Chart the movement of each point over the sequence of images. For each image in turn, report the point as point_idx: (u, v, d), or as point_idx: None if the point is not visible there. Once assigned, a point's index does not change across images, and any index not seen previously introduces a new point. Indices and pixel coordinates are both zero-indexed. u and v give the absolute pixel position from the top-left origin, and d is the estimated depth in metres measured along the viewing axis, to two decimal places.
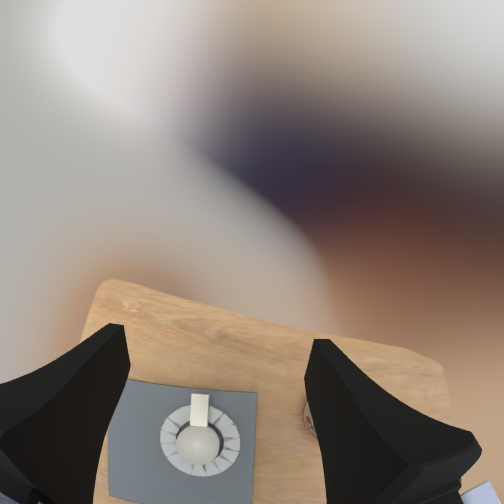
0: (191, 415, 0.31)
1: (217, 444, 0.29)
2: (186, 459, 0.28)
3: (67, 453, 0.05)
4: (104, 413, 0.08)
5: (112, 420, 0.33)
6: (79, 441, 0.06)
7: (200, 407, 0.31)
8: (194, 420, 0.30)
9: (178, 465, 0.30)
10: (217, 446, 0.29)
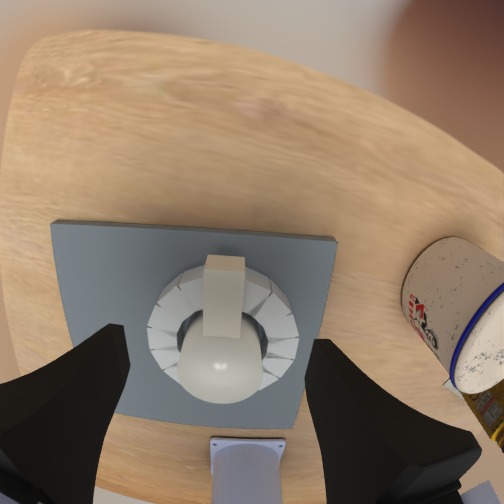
0: (205, 317, 0.15)
1: (260, 372, 0.16)
2: (199, 396, 0.17)
3: (67, 453, 0.05)
4: (104, 413, 0.08)
5: (68, 303, 0.20)
6: (79, 441, 0.06)
7: (225, 300, 0.15)
8: (212, 326, 0.16)
9: None
10: (259, 376, 0.16)
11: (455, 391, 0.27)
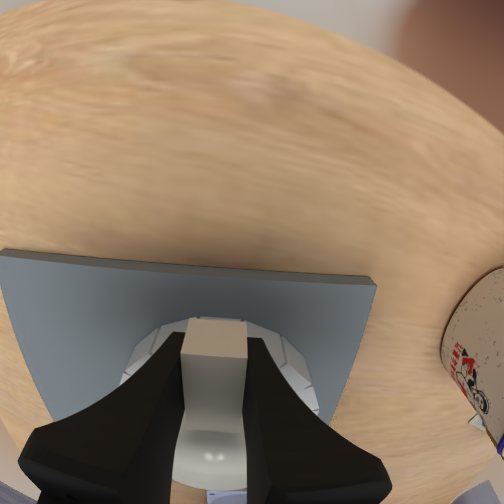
0: (188, 410, 0.09)
1: None
2: (188, 483, 0.11)
3: (157, 476, 0.05)
4: (176, 426, 0.08)
5: (26, 350, 0.14)
6: (163, 460, 0.06)
7: (217, 393, 0.09)
8: (199, 420, 0.10)
9: None
10: None
11: (478, 426, 0.21)
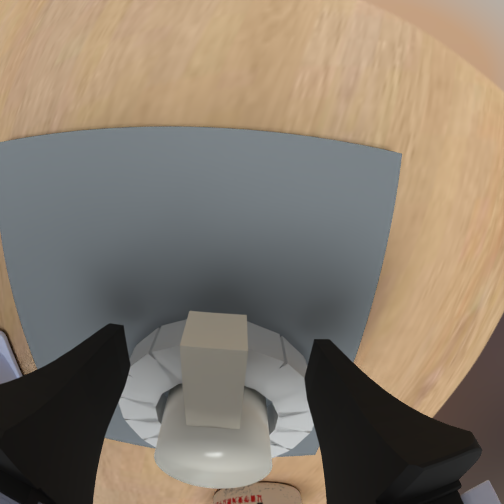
0: (187, 405, 0.09)
1: (268, 464, 0.10)
2: (187, 481, 0.11)
3: (67, 453, 0.05)
4: (104, 413, 0.08)
5: (247, 145, 0.11)
6: (79, 441, 0.06)
7: (217, 387, 0.09)
8: (199, 416, 0.10)
9: (134, 377, 0.12)
10: (267, 466, 0.10)
11: None
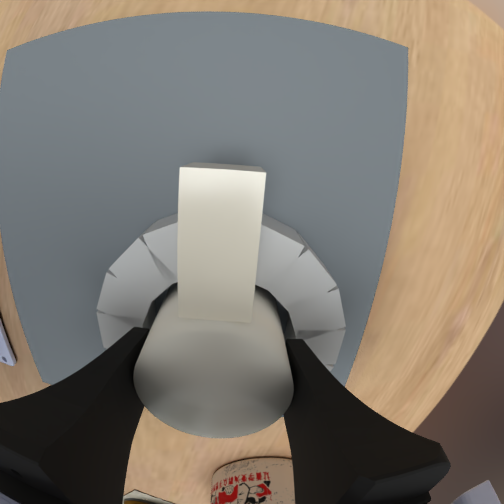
0: (182, 276, 0.08)
1: (288, 388, 0.08)
2: (178, 425, 0.09)
3: (101, 464, 0.05)
4: (132, 419, 0.08)
5: (259, 26, 0.09)
6: (111, 450, 0.06)
7: (223, 238, 0.07)
8: (196, 297, 0.08)
9: (118, 277, 0.10)
10: (287, 393, 0.09)
11: (126, 496, 0.23)
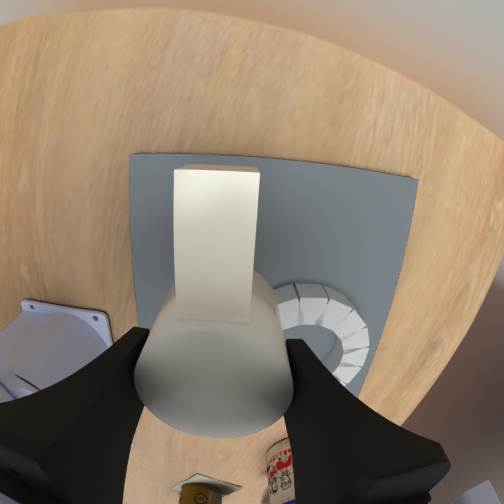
0: (179, 277, 0.08)
1: (288, 387, 0.08)
2: (179, 426, 0.09)
3: (101, 464, 0.05)
4: (131, 419, 0.08)
5: (332, 175, 0.18)
6: (111, 450, 0.06)
7: (219, 239, 0.07)
8: (194, 298, 0.08)
9: None
10: (287, 393, 0.09)
11: (186, 481, 0.32)
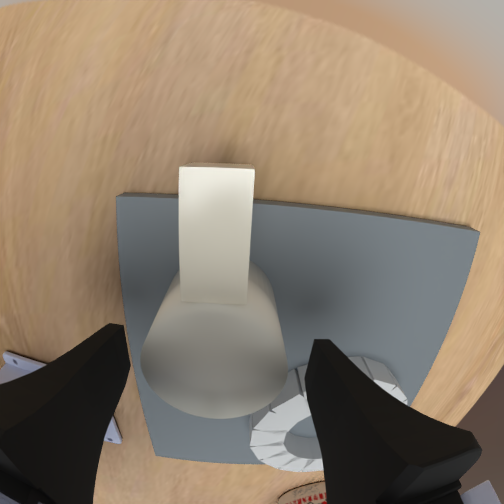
0: (183, 263, 0.09)
1: (283, 366, 0.09)
2: (182, 407, 0.10)
3: (67, 453, 0.05)
4: (104, 413, 0.08)
5: (390, 230, 0.13)
6: (79, 441, 0.06)
7: (219, 228, 0.08)
8: (196, 282, 0.09)
9: (277, 413, 0.14)
10: (282, 372, 0.09)
11: None
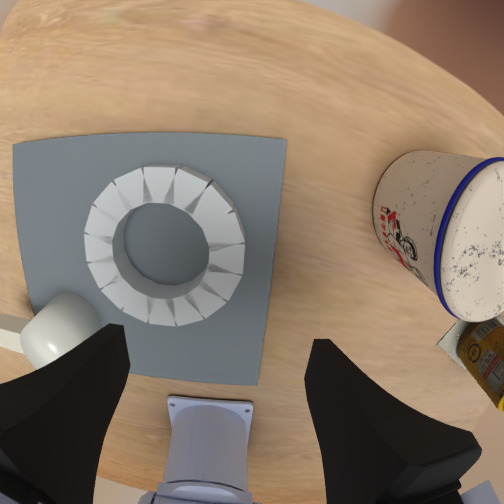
0: (18, 351, 0.17)
1: (32, 327, 0.15)
2: None
3: (67, 453, 0.05)
4: (104, 413, 0.08)
5: (21, 225, 0.18)
6: (79, 441, 0.06)
7: (5, 338, 0.16)
8: (21, 348, 0.17)
9: (123, 305, 0.18)
10: (35, 327, 0.15)
11: (452, 355, 0.25)
